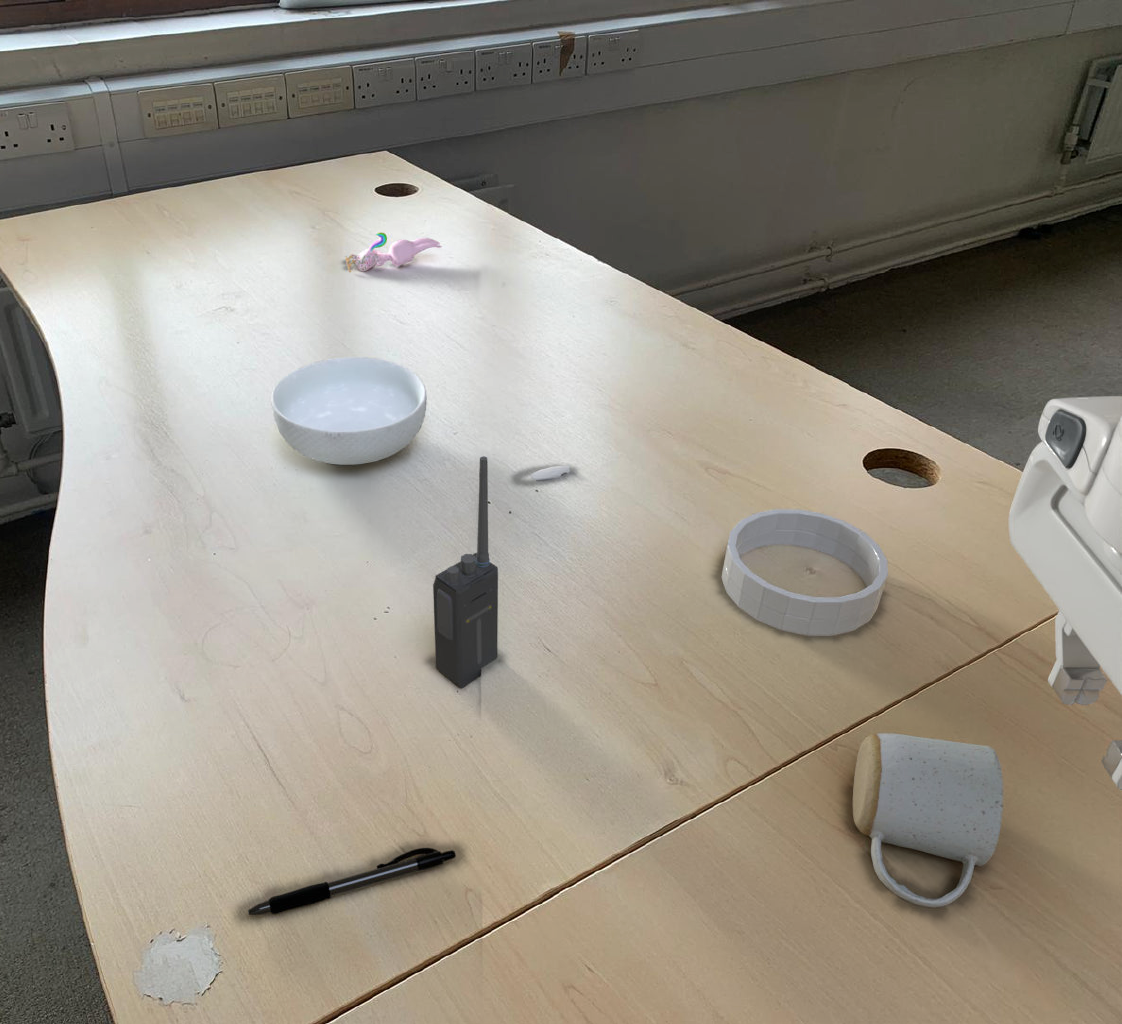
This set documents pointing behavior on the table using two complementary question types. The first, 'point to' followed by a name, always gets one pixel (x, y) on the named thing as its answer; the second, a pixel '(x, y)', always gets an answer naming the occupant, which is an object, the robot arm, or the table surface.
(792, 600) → the gray band ring
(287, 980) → the table surface
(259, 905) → the pen
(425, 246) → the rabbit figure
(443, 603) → the walkie-talkie
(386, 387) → the cereal bowl
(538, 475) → the white elongated flat piece
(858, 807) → the ceramic mug
